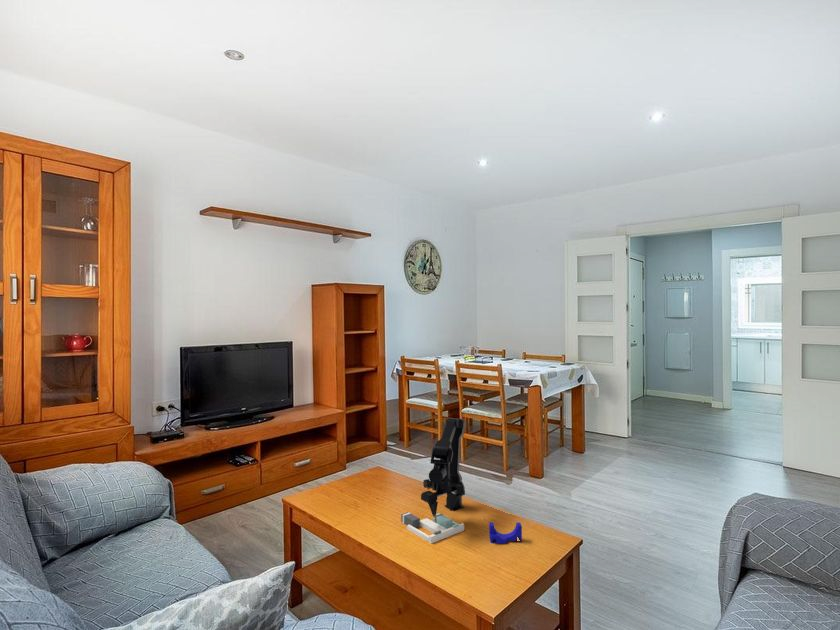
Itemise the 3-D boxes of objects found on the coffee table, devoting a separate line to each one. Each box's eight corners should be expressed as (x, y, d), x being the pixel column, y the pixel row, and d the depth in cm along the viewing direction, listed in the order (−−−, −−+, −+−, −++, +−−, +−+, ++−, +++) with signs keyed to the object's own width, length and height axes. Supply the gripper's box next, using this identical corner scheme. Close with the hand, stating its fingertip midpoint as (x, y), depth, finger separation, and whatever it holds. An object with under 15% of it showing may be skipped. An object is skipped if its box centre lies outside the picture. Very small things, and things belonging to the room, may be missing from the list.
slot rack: (439, 517, 201) (439, 510, 201) (464, 530, 189) (464, 522, 189) (406, 529, 191) (406, 521, 191) (431, 543, 179) (431, 535, 179)
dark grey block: (408, 520, 199) (408, 511, 199) (419, 526, 193) (419, 518, 193) (401, 522, 197) (401, 513, 197) (412, 529, 191) (412, 520, 191)
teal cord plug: (439, 521, 198) (439, 512, 198) (452, 528, 192) (452, 519, 192) (433, 523, 196) (433, 515, 196) (445, 530, 189) (445, 521, 189)
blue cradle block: (490, 543, 179) (490, 527, 179) (489, 537, 183) (489, 522, 183) (522, 543, 179) (522, 527, 179) (520, 537, 183) (520, 522, 183)
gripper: (446, 466, 205) (446, 501, 205) (412, 475, 194) (412, 513, 194) (464, 472, 197) (464, 510, 197) (429, 482, 185) (430, 522, 185)
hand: (442, 513), depth 193 cm, fingers open, 9 cm apart
